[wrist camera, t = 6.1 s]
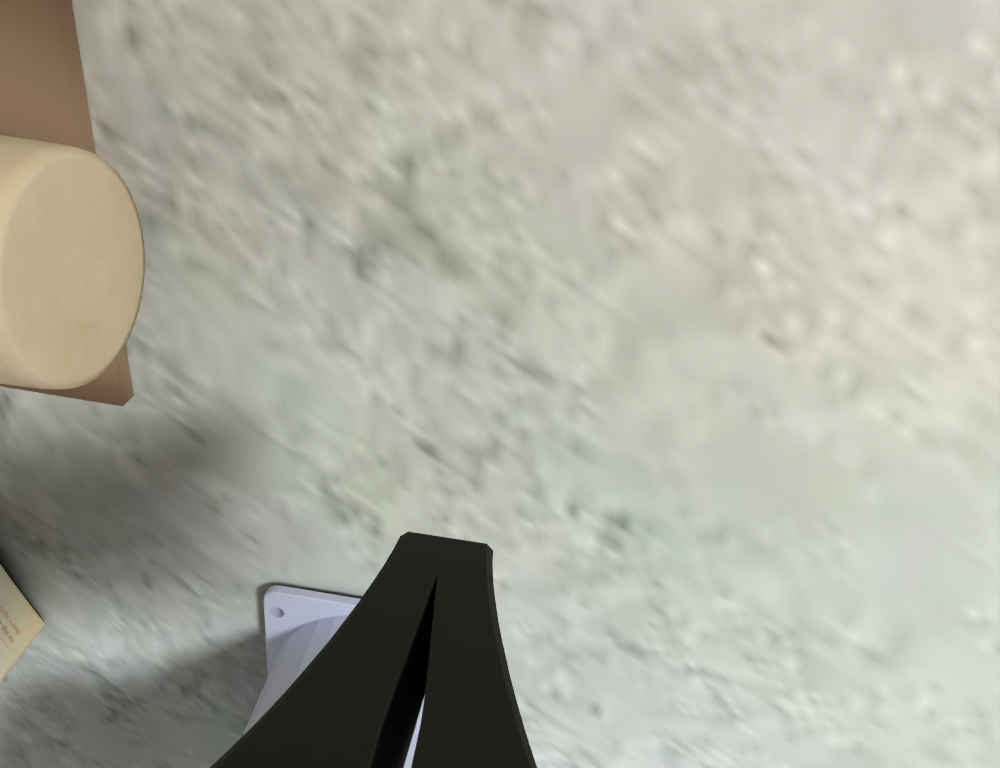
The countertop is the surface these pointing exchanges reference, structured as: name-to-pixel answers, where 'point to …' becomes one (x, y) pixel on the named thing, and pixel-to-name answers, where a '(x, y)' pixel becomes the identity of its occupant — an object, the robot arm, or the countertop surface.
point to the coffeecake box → (14, 623)
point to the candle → (64, 264)
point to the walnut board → (51, 122)
